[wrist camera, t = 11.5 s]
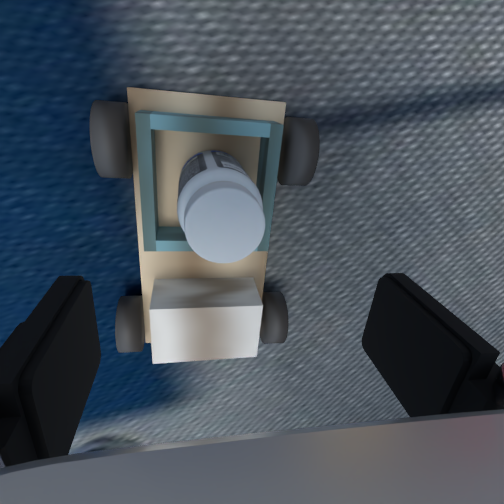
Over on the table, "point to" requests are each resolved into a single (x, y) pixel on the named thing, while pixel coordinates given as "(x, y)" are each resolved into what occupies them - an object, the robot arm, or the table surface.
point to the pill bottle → (219, 207)
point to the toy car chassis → (171, 233)
